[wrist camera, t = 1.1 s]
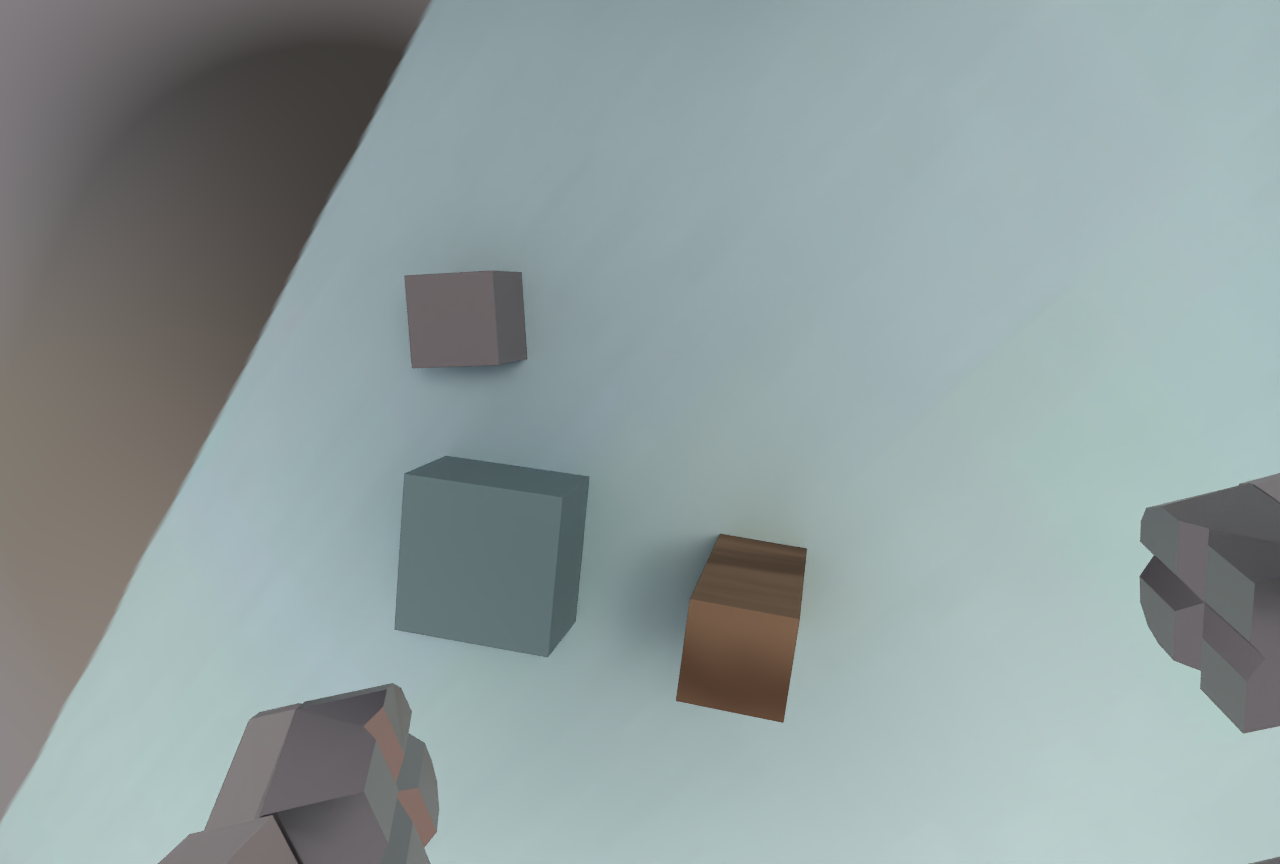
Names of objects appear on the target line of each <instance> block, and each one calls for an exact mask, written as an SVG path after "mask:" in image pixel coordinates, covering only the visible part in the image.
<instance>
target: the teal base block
mask: <svg viewBox="0 0 1280 864" xmlns="http://www.w3.org/2000/svg"><path fill="white" fill-rule="evenodd" d="M588 486H589V476H582V475H575V474H568V473H561V472H554V471H547V470H540V469H533V468H526V467H519V466H512V465H506V464H499V463H492V462H485V461H478V460H471V459H464V458H457V457H450V456H444V457H442V458H440V459H438V460H435V461H433V462H431V463H428V464H426V465H424V466H421V467H419V468H417V469H414V470H412V471H410V472H408V473H405V474H404V487H403V503H402V519H401V535H400V551H399V567H398V583H397V599H396V615H395V630H399V631H405V632H411V633H416V634H422V635H427V636H433V637H438V638H444V639H450V640H455V641H461V642H466V643H472V644H477V645H483V646H488V647H494V648H500V649H505V650H511V651H516V652H522V653H527V654H533V655H538V656H544V657H549V655H550V654H551V653H552V651H553V650H554V649H555V647H556V646H557V645H558V644H559V642H560V641H561V640H562V638H563V637H564V636H565V634H566V633H567V632H568V631H569V629H570V628H571V627H572V625H573V624H574V623H575V621H576V612H577V601H578V591H579V580H580V570H581V559H582V549H583V539H584V528H585V518H586V507H587V497H588Z"/></svg>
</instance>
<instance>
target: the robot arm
mask: <svg viewBox="0 0 1280 864" xmlns="http://www.w3.org/2000/svg"><path fill="white" fill-rule="evenodd" d="M1140 542H1141V543H1142V544H1143V545H1144V546H1145V547H1146V548H1147V549H1148V550H1149V551H1150V552H1151V553H1152V554H1153V555H1154V556H1153V558H1152V559H1151V560H1150V562H1149V563H1148V565H1147V566H1146V568H1145V569H1144V571H1143V572H1142V573H1141V575H1140V603H1141V606H1142V609H1143V612H1144V615H1145V618H1146V621H1147V624H1148V627H1149V629H1150V630H1151V632H1152V634H1153V635H1154V637H1155V639H1156V640H1157V642H1158V644H1159V645H1160V646H1161V647H1162V648H1163V649H1164V650H1165V652H1166V653H1167V654H1168V655H1169V656H1170V657H1171V658H1172V659H1173V660H1174V661H1177V662H1179V663H1182V664H1185V665H1187V666H1190V667H1192V668H1195V669H1198V670H1200V671H1201V682H1200V689H1201V690H1202V691H1203V692H1204V693H1205V694H1206V695H1207V696H1208V697H1209V698H1210V699H1211V700H1212V702H1213V703H1214V704H1215V705H1216V706H1217V707H1218V708H1219V709H1220V710H1221V711H1222V712H1223V713H1224V714H1225V715H1226V716H1227V717H1228V718H1229V719H1230V720H1231V721H1232V722H1233V723H1234V724H1235V726H1236V727H1237V728H1238V729H1239V730H1240V731H1241V732H1242V733H1248V732H1253V731H1258V730H1262V729H1267V728H1272V727H1277V726H1280V473H1279V474H1275V475H1271V476H1267V477H1264V478H1260V479H1256V480H1252V481H1248V482H1245V483H1241V484H1239V485H1238V486H1235V487H1231V488H1227V489H1223V490H1218V491H1214V492H1210V493H1206V494H1202V495H1198V496H1194V497H1189V498H1185V499H1181V500H1177V501H1173V502H1169V503H1164V504H1160V505H1156V506H1152V507H1148V508H1146V510H1145V512H1144V515H1143V517H1142V520H1141V532H1140ZM411 714H412V711H411V709H410V707H409V704H408V702H407V700H406V698H405V696H404V693H403V691H402V689H401V688H400V687H398V686H397V685H395V684H394V683H391V684H387V685H382V686H377V687H372V688H368V689H363V690H358V691H353V692H349V693H344V694H339V695H335V696H330V697H325V698H320V699H316V700H311V701H306V702H304V703H303V704H300V703H298V704H293V705H289V706H285V707H280V708H276V709H272V710H267V711H263V712H259V713H258V714H256V715H255V716H254V717H252V718H251V719H250V720H249V722H248V724H247V726H246V729H245V731H244V734H243V736H242V739H241V741H240V743H239V746H238V748H237V751H236V753H235V756H234V758H233V761H232V763H231V766H230V768H229V771H228V773H227V775H226V778H225V780H224V783H223V785H222V788H221V790H220V793H219V795H218V798H217V800H216V803H215V805H214V807H213V810H212V812H211V815H210V817H209V820H208V822H207V825H206V827H205V830H204V831H201V832H197V833H193V834H189V835H188V836H187V837H186V838H185V839H184V840H183V841H182V842H181V843H180V844H179V845H178V846H177V847H175V848H174V849H173V850H172V851H171V852H170V853H169V854H168V855H167V856H166V857H165V858H164V859H163V860H161V861H160V862H159V863H158V864H431V863H430V861H429V859H428V856H427V854H426V852H425V849H424V847H425V846H426V845H427V843H428V842H429V841H430V840H431V838H432V837H433V836H434V835H435V833H436V832H437V824H438V814H439V802H438V789H437V780H436V776H435V772H434V768H433V764H432V760H431V758H430V755H429V752H428V750H427V747H426V745H425V743H424V742H422V741H420V740H419V739H417V738H416V737H414V736H412V735H411V734H409V733H408V732H409V726H410V720H411ZM1250 864H1280V857H1276V858H1272V859H1267V860H1263V861H1259V862H1254V863H1250Z"/></svg>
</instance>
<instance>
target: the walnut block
mask: <svg viewBox="0 0 1280 864" xmlns="http://www.w3.org/2000/svg"><path fill="white" fill-rule="evenodd" d="M806 552H807V549H806V548H800V547H794V546H788V545H782V544H776V543H771V542H765V541H759V540H753V539H747V538H741V537H736V536H730V535H724V534H720V535H719V537H718V539H717V542H716V544H715V546H714V548H713V550H712V552H711V555H710V557H709V559H708V561H707V563H706V565H705V568H704V570H703V572H702V574H701V576H700V578H699V580H698V583H697V585H696V587H695V589H694V591H693V593H692V596H691V598H690V602H689V610H688V617H687V624H686V632H685V639H684V646H683V653H682V661H681V668H680V675H679V683H678V690H677V697H676V701H679V702H684V703H689V704H694V705H699V706H704V707H709V708H714V709H719V710H724V711H729V712H733V713H738V714H743V715H748V716H753V717H758V718H763V719H768V720H773V721H778V722H784V715H785V709H786V703H787V696H788V690H789V684H790V677H791V671H792V665H793V658H794V652H795V646H796V639H797V633H798V627H799V620H800V611H801V601H802V591H803V582H804V572H805V562H806Z"/></svg>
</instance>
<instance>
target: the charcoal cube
mask: <svg viewBox="0 0 1280 864" xmlns="http://www.w3.org/2000/svg"><path fill="white" fill-rule="evenodd" d="M405 288H406V300H407V312H408V325H409V337H410V349H411V362H412V368H431V367H459V366H486V365H501V364H506V363H510V362H515V361H519V360H524V359H527V348H526V332H525V317H524V302H523V286H522V272H507V271H477V272H460V273H442V274H425V275H407V276H405Z"/></svg>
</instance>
